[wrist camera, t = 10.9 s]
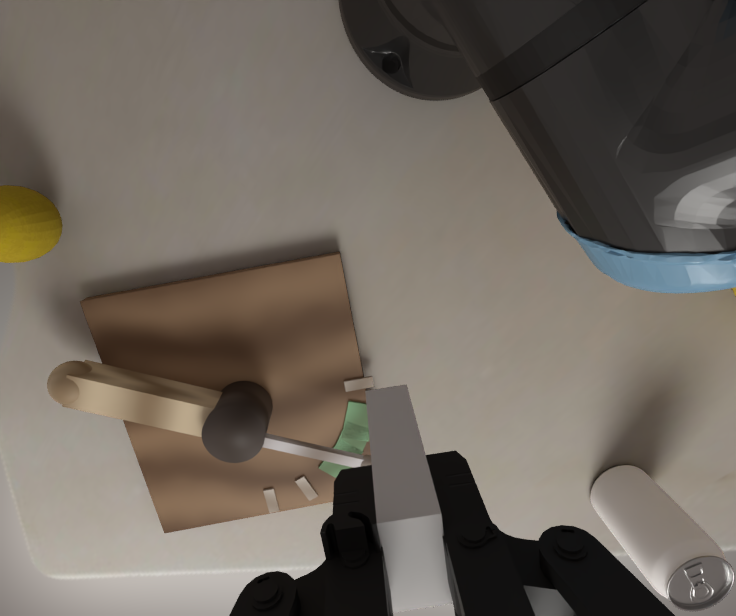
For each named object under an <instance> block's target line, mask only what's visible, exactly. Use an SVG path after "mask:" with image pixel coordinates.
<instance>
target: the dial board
mask: <svg viewBox="0 0 736 616" xmlns="http://www.w3.org/2000/svg"><path fill="white" fill-rule="evenodd" d="M80 303H81V306H82V309H83V312H84V314H85V317H86V320H87V323H88V325H89V328H90V331H91V334H92V336H93V339H94V342H95V344H96V347H97V350H98V353H99V355H100V358H101V361H102V364H105V365H110V366H114V367H118V368H122V369H126V370H131V371H135V372H139V373H143V374H148V375H152V376H156V377H160V378H165V379H169V380H173V381H177V382H182V383H186V384H190V385H194V386H199V387H203V388H207V389H211V390H216V391H220V392H221V391H222V390H223V388H225V387H226V386H227V385H229V384H231V383H233V382H237V381H250V382H254V383H256V384H258V385H260V386H262V387H263V388H264V389H265V390H266V391H267V392H268V393H269V395H270V397H271V399H272V404H273V410H272V414H271V418H270V422H269V426H268V429H267V433H268V434H272V435H277V436H281V437H285V438H290V439H294V440H299V441H303V442H307V443H312V444H316V445H321V446H325V447H329V448H334V449H338V450H343V451H347V452H352V453H356V454H360V455H371V451H370V439H369V428H368V416H367V405H366V393H365V391H366V388H370V387H374V383H373V378H372V376H369V377H364V376H363V371H362V366H361V360H360V355H359V350H358V345H357V339H356V334H355V329H354V324H353V319H352V313H351V308H350V303H349V298H348V293H347V287H346V282H345V277H344V272H343V267H342V261H341V256H340V252H335V253H329V254H324V255H318V256H313V257H307V258H302V259H296V260H291V261H286V262H280V263H275V264H269V265H264V266H258V267H253V268H247V269H242V270H236V271H231V272H225V273H220V274H214V275H209V276H203V277H198V278H193V279H187V280H182V281H176V282H171V283H165V284H160V285H154V286H149V287H143V288H138V289H132V290H127V291H121V292H116V293H110V294H105V295H99V296H94V297H89V298H86V299H84V300H82V301H80ZM123 421H124V424H125V427H126V429H127V432H128V435H129V437H130V440H131V443H132V446H133V448H134V451H135V454H136V457H137V459H138V462H139V465H140V468H141V470H142V473H143V476H144V479H145V481H146V484H147V487H148V489H149V492H150V495H151V498H152V500H153V503H154V506H155V509H156V511H157V514H158V517H159V520H160V522H161V525H162V528H163V531H164V533H169V532H174V531H179V530H185V529H190V528H195V527H201V526H206V525H211V524H216V523H222V522H227V521H232V520H238V519H243V518H248V517H254V516H259V515H264V514H270V513H275V512H280V511H286V510H291V509H296V508H302V507H307V506H312V505H317V504H323V503H328V502H333V497H334V481H335V479H336V477H337V476H338V474H339V472H340V471H341V470H342V469H348V468H354V467H349V466H345V465H340V464H336V463H331V462H327V461H322V460H318V459H313V458H309V457H304V456H300V455H295V454H291V453H286V452H282V451H277V450H273V449H268V448H264V447H262V449H261V450H260V452H259V453H258V454H257V455H256V456H255V457H253V458H252V459H250V460H248V461H245V462H240V463H228V462H224V461H221V460H219V459H217V458H215V457H214V456H212V455H211V454H210V453H209V452H208V451H207V450H206V448H205V446H204V444H203V441H202V437H198V436H194V435H189V434H185V433H180V432H176V431H171V430H167V429H162V428H158V427H153V426H149V425H144V424H140V423H135V422H131V421H126V420H123Z"/></svg>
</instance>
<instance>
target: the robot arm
mask: <svg viewBox="0 0 736 616" xmlns="http://www.w3.org/2000/svg"><path fill="white" fill-rule="evenodd" d="M339 7H340V12H341V17H342V21H343V25H344V28H345V31H346V34H347V36H348V39H349V41H350V43H351V45H352V47H353V49H354V51H355V52H356V54H357V56H358V57H359V58H360V60H361V61H362V63H363V64H364V65H365V66H366V68H367V69H368V70H369V71H370V72H371V73H372V74H373V75H374V76H375V77H376V78H377V79H379V80H380V81H381V82H382V83H384V84H385V85H387V86H388V87H390V88H392V89H393V90H395V91H397V92H399V93H401V94H404V95H407V96H409V97H413V98H417V99H422V100H433V101H439V100H449V99H454V98H459V97H462V96H465V95H467V94H470V93H472V92H474V91H476V90H478V89H480V88H483V90H484V91H485V93H486V95H487V96H488V98H489V100H490V103H491V105H492V106H493V108H494V109H495V111H496V113H497V114H498V116H499V117H500V119H501V121H502V122H503V124H504V126H505V127H506V129H507V130H508V132H509V134H510V135H511V137H512V139H513V140H514V142H515V143H516V145H517V147H518V148H519V150H520V151H521V153H522V155H523V156H524V158H525V160H526V161H527V163H528V164H529V166H530V168H531V169H532V171H533V173H534V174H535V176H536V177H537V179H538V181H539V182H540V184H541V185H542V187H543V189H544V190H545V192H546V194H547V195H548V197H549V198H550V200H551V202H552V203H553V205H554V207H555V208H556V210H557V218H558V219H559V221H560V223H561V225H562V226H563V227H564V229H565V230H566V231H567V232H568V233H569V234H570V235H571V236H573V237H574V238H575V239H576V240H577V241H578V243H579V244H580V245H581V247H582V248H583V250H584V251H585V253H586V254H587V256H588V257H589V258H590V260H591V261H592V263H593V264H594V265H595V266H596V267H597V268H598V269H599V270H600V271H601V272H603V273H604V274H607V275H608V276H610V277H611V278H613V279H614V280H616V281H617V282H620V283H622V284H624V285H626V286H630V287H634V288H637V289H641V290H646V291H652V292H661V293H697V292H708V291H717V290H723V289H729V288H734V287H736V0H339ZM365 393H366V405H367V416H368V428H369V439H370V451H371V463H372V465H367V466H361V467H355V468H348V469H342V470H341V471H340V472H339V474H338V476H337V477H336V479H335V481H334V497H333V515H331V516H330V517H329V518H328V519H327V520H326V521H325V522H324V524H323V525H322V529H321V532H320V534H321V538H322V543H323V547H324V552H325V556H326V560H325V561H324V562H323V564H322V565H320V566H319V567H318V568H317V569H316V570H314V571H312V572H310V573H309V574H307V575H304V576H302V577H300V578H298V579H296V580H294V579H293V578H291V576H289V575H288V574H287V573H283V572H279V571H276V572H268V573H265V574H263V575H260V576H258V577H256V578H255V579H254V580H252V581H251V582H250V583H248V584H247V585H246V587H245V588H244V590H243V591H242V592H241V594H240V596H239V597H238V599H237V602H236V604H235V606H234V607H233V609H232V612H231V614H230V616H393V613H395V612H401V611H408V610H415V609H421V608H427V607H434V606H441V605H447V604H452V601H453V605H454V610H455V616H675V615H674V614H673V613H672V612H671V611H670V610H669V609H668V608H667V607H666V606H665V605H664V604H662V602H660V601H659V600H658V599H657V598H656V597H655V596H654V595H653V594H652V593H651V592H650V591H649V590H648V589H647V588H646V587H645V586H644V585H643V584H642V583H641V582H640V581H639V580H638V579H637V578H636V577H635V576H634V575H633V574H632V573H631V572H630V571H629V570H628V569H627V568H625V566H624V565H622V564H621V563H620V562H619V561H618V560H617V559H616V558H615V557H614V556H613V555H612V554H611V553H610V552H609V551H608V550H607V549H606V548H605V547H604V546H603V545H602V544H601V543H600V542H599V541H598V540H597V539H596V538H595V537H593V536H592V535H591V534H589V533H588V532H586V531H585V530H582V529H579V528H577V527H574V526H564V525H561V526H555V527H551V528H549V529H548V530H546V531H544V532H543V533H542V535H541V537H540V538H539V541H535V540H526V539H520V538H515V537H512V536H509V535H507V534H505V533H503V532H502V531H500V530H499V529H498V527H497V526H496V525H495V524H493V523H492V521H491V520H490V518H489V515H488V513H487V510H486V508H485V505H484V503H483V500H482V498H481V495H480V493H479V490H478V488H477V485H476V484H475V480H474V478H473V475H472V474H471V470H470V468H469V465H468V463H467V460H466V459H465V458H464V457H462V456H461V455H460V454H459V453H458V452H457V451H450V452H443V453H437V454H431V455H425V451H424V447H423V444H422V440H421V436H420V433H419V429H418V425H417V422H416V418H415V414H414V410H413V407H412V403H411V399H410V396H409V392H408V388H407V385H400V386H394V387H387V388H381V389H375V390H368V391H365Z"/></svg>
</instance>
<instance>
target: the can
mask: <svg viewBox="0 0 736 616" xmlns="http://www.w3.org/2000/svg"><path fill="white" fill-rule="evenodd" d="M590 499H591V503H592V506H593V507H594V509H595V510H596V512H597V513H598V515H599V516H600V517H601V519H602V520H603V521H604V523H605V524H606V525H607V527H608V528H609V529H610V531H611V532H612V533H613V535H614V536H615V538H616V539H617V540H618V542H619V543H620V544H621V546H622V547H623V548H624V550H625V551H626V552H627V554H628V555H629V556H630V558H631V559H632V560H633V562H634V563H635V564H636V565H637V567H638V568H639V569H640V571H641V572H642V573H643V575H644V576H645V577H646V579H647V580H648V581H649V582H650V584H651V585H652V586H653V588H654V589H655V590H656V591H657V592H658V593H659V594H661V595H662V596H664V597H665V598H667V599H669V600H670V602H671V603H672V604H673V605H674V606H675V607H677V608H678V609H681V610H684V611H701V610H704V609H708V608H710V607H712V606H714V605H716V604H717V603H719V602H720V601H721V600H723V599H724V598H725V597H726V596H727V595H728V593H729V592H730V590H731V588H732V586H733V583H734V577H735V576H734V571H733V568H732V566H731V565H730V564H729V563H728V562H727V561H726V559H725V556H724V553H723V551H722V550H721V548H720V547H719V546H718V545H717V544H716V543H715V541H714V540H713V539H712V538H711V537H710V536H709V535H708V534H707V533H706V532H705V531H704V530H703V529H702V528H701V527H700V526H699V525H698V524H697V523H696V522H695V521H694V520H693V519H692V518H691V517H690V516H689V515H688V514H687V513H686V512H685V511H684V510H683V509H682V508H681V507H680V506H679V505H678V504H677V503H676V502H675V501H674V500H673V499H672V498H671V497H670V496H669V495H668V494H667V493H666V492H665V491H664V490H663V489H662V488H661V487H660V486H659V485H658V484H657V483H656V482H655V481H654V480H653V479H651V478H650V477H649V476H648V475H647V474H646V473H645V472H644V471H643V470H641V469H640V468H638V467H635V466H630V465H621V466H615V467H612V468H610V469H608V470H606V471H604V472H603V473H602V474H601V475H600V476H599V477H598V478H597V479H596V480H595V482H594V484H593V486H592V490H591V495H590Z"/></svg>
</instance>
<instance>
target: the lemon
mask: <svg viewBox="0 0 736 616" xmlns="http://www.w3.org/2000/svg"><path fill="white" fill-rule="evenodd" d="M61 233H62V220H61V217H60V214H59V212H58V210H57V208H56V207H55V206H54V204H53V203H52V202H51V201H50V200H49V199H48V198H47V197H45V196H43V195H42V194H40V193H38V192H37V191H34V190H31V189H28V188H25V187H21V186H9V185H4V186H0V262H5V263H14V262H26V261H30V260H33V259H36V258H39V257H41V256H43V255H44V254H46V253H47V252H49V251H50V250H52V248H53V247H54V246H55V245H56V244H57V243H58V241H59V238H60V236H61Z"/></svg>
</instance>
